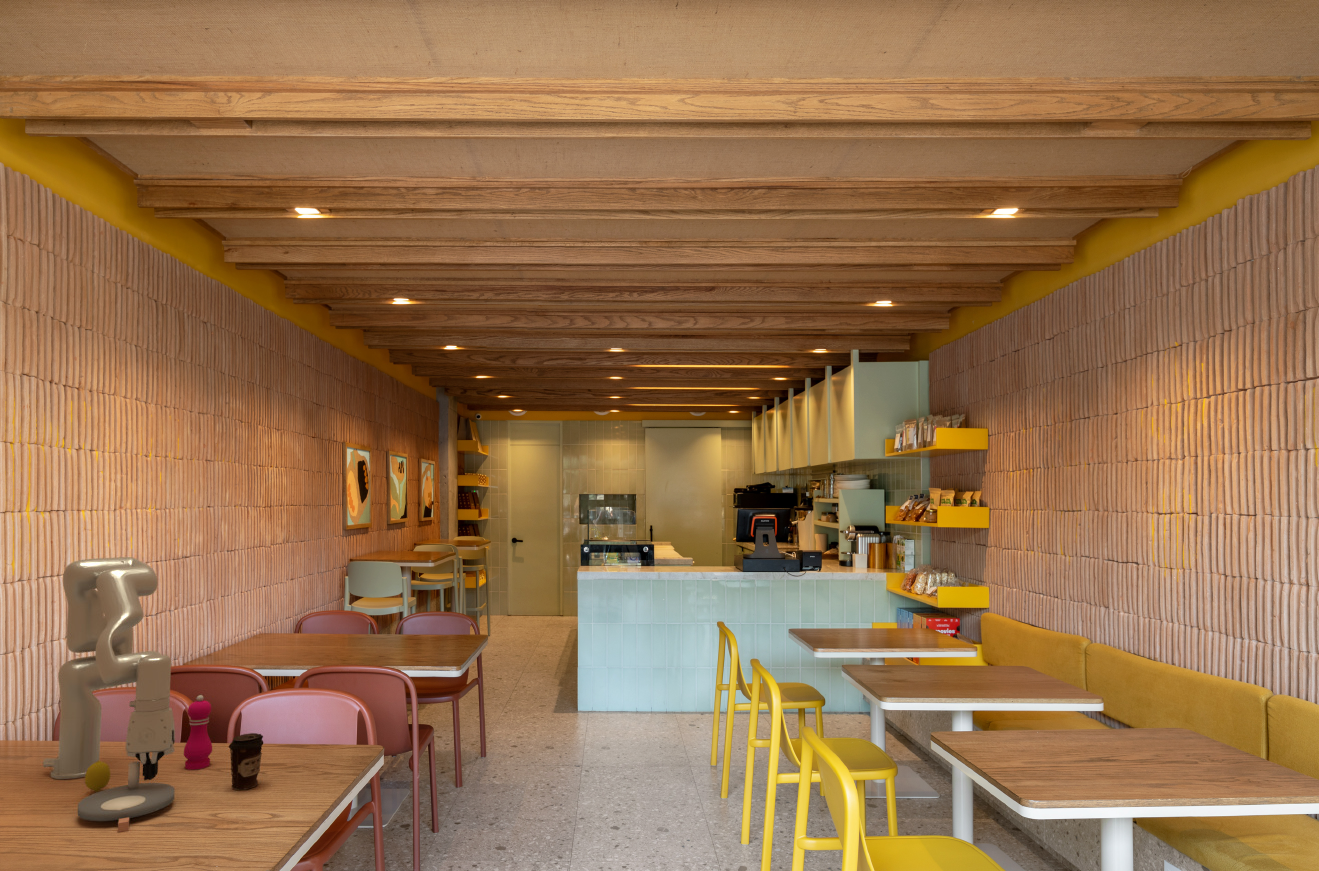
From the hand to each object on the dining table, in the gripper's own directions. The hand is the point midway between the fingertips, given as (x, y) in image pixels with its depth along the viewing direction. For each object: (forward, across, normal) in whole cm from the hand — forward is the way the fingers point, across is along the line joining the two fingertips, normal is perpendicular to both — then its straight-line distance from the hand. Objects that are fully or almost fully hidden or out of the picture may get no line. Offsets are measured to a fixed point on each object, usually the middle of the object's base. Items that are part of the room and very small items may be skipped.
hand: (149, 778), depth 211 cm
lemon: (+6, -16, +9) cm, 19 cm away
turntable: (+4, -2, -7) cm, 8 cm away
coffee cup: (+6, +21, +7) cm, 23 cm away
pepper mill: (+6, +2, +27) cm, 28 cm away
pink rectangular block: (+6, +2, -19) cm, 20 cm away
